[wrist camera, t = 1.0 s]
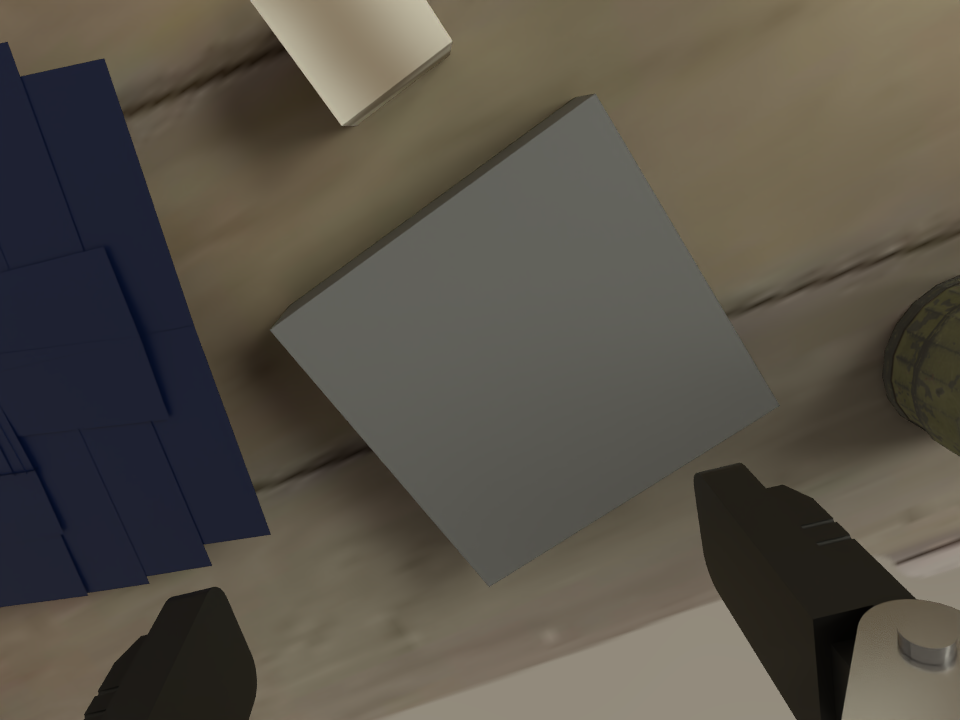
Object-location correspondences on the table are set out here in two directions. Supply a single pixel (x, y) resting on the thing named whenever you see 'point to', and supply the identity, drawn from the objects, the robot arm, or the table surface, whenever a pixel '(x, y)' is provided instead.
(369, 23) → the cream cube
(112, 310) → the papers
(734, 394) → the charcoal plinth
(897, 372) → the thermos
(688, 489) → the table surface
